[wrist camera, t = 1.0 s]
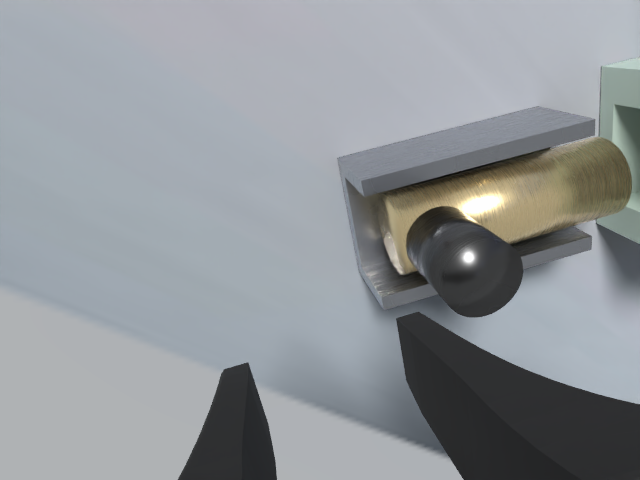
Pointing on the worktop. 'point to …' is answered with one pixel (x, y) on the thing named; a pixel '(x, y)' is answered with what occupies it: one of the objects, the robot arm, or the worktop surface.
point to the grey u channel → (441, 161)
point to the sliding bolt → (498, 218)
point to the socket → (623, 136)
